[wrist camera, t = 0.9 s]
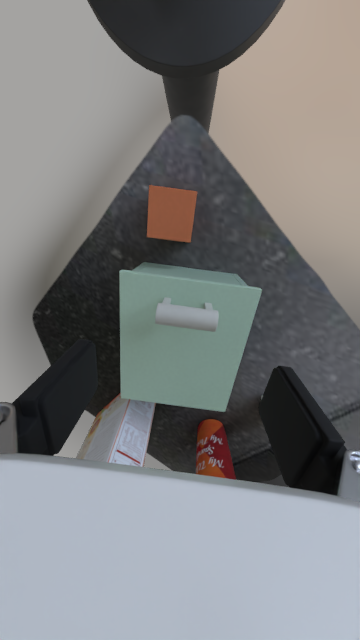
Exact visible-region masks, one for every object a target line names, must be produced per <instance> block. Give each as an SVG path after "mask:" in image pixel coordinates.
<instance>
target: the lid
mask: <svg viewBox="0 0 360 640" xmlns="http://www.w3.org/2000/svg"><path fill="white" fill-rule="evenodd" d="M119 275H120V373H121V398H124V399H131V400H139V401H146V402H154V403H161V404H169V405H176V406H184V407H191V408H199V409H207V410H214V411H222V412H225V410H226V407H227V404H228V400H229V397H230V394H231V390H232V387H233V384H234V381H235V377H236V374H237V371H238V368H239V364H240V361H241V358H242V354H243V351H244V348H245V345H246V341H247V338H248V335H249V331H250V328H251V325H252V322H253V318H254V315H255V312H256V309H257V305H258V302H259V299H260V295H261V292H262V290H261V289H260V288H258V287H250V286H243V285H235V284H227V283H220V282H212V281H205V280H197V279H190V278H182V277H174V276H167V275H159V274H152V273H144V272H137V271H129V270H121V271H119Z"/></svg>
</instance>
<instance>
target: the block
mask: <svg viewBox="0 0 360 640" xmlns="http://www.w3.org/2000/svg"><path fill="white" fill-rule="evenodd" d="M196 197H197V191H190V190H182V189H175V188H167V187H159V186H152V185H149V203H148V225H147V237H150V238H158V239H165V240H173V241H180V242H188V243H190V242H191V235H192V227H193V220H194V212H195V205H196Z"/></svg>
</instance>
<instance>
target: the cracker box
mask: <svg viewBox="0 0 360 640" xmlns="http://www.w3.org/2000/svg"><path fill="white" fill-rule="evenodd" d="M155 404H156V403H154V402H146V401H139V400H131V399H124V398H121V393H119V394H118V395H117V396H116V397H115V398H114V399H113V400H112V401H111V402H110V403H109V404H108V405H107V406H106V407H105V408H103V409H102V410H101V411H100V412H99V413H98V414H97V416H96V418H95V420H94V422H93V425H92V426H91V428H90V430H89V432H88V434H87V436H86V438H85V440H84V442H83V444H82V447H81V449H80V451H79V453H78V455H77V457H76V459H85V460H93V461H100V462H108V463H116V464H123V465H131V466H139V467H144V462H145V457H146V451H147V446H148V441H149V436H150V430H151V425H152V420H153V414H154V409H155Z"/></svg>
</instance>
